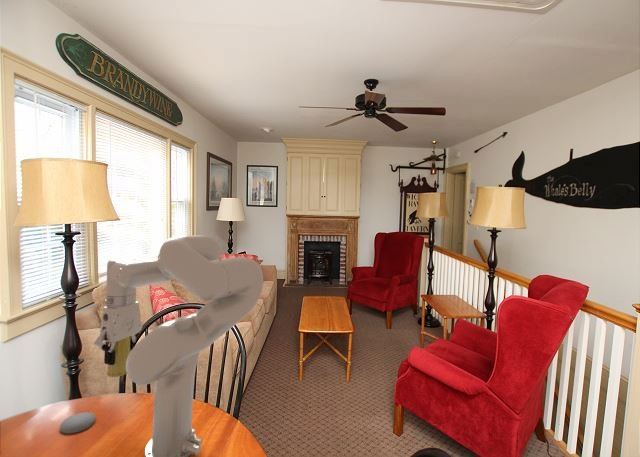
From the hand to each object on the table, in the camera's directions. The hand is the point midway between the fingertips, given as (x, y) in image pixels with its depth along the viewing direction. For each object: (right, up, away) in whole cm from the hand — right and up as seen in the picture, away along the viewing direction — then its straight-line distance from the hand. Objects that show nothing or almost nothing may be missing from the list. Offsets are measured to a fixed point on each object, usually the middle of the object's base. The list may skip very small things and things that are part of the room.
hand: (119, 358), depth 92 cm
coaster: (-10, -18, -3) cm, 20 cm away
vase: (0, -4, 0) cm, 4 cm away
